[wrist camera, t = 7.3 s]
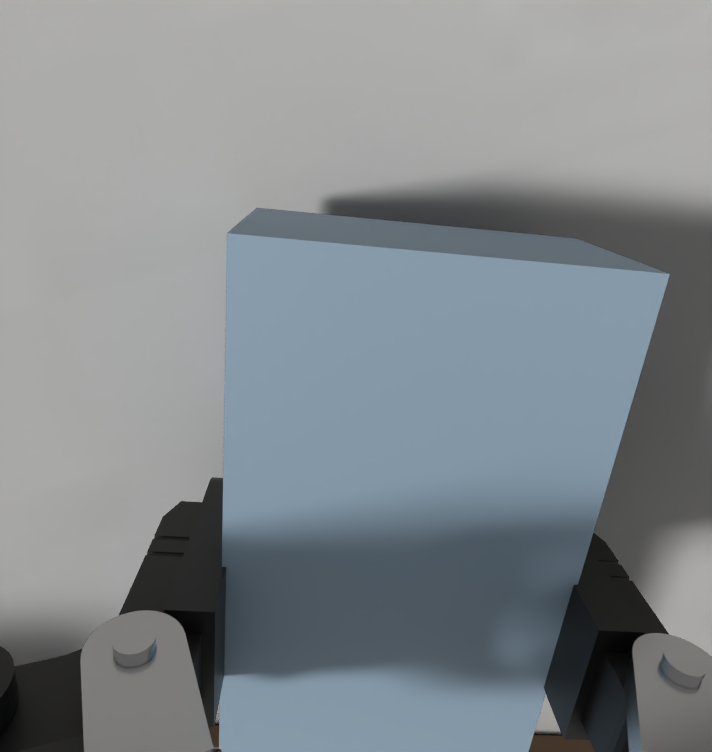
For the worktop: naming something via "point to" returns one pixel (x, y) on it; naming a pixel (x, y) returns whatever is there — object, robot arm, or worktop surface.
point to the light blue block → (412, 473)
